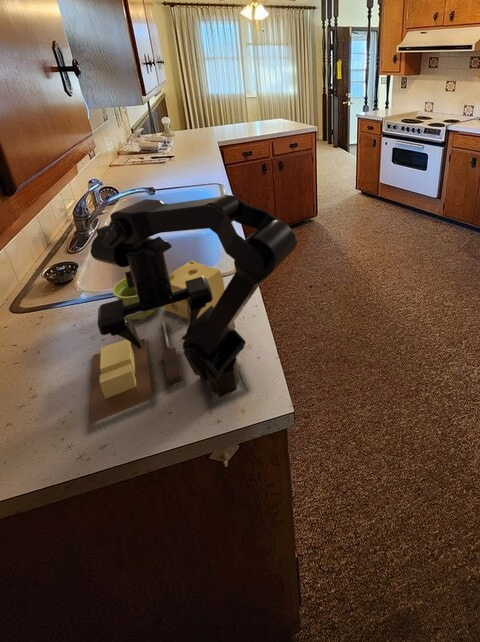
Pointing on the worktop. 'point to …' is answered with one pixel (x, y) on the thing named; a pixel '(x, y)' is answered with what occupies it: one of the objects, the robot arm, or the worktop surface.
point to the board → (126, 399)
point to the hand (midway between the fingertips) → (166, 338)
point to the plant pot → (128, 297)
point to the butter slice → (117, 381)
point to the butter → (116, 356)
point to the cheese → (192, 272)
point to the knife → (171, 361)
